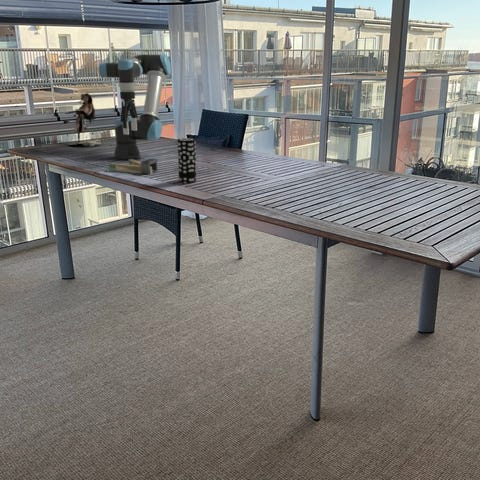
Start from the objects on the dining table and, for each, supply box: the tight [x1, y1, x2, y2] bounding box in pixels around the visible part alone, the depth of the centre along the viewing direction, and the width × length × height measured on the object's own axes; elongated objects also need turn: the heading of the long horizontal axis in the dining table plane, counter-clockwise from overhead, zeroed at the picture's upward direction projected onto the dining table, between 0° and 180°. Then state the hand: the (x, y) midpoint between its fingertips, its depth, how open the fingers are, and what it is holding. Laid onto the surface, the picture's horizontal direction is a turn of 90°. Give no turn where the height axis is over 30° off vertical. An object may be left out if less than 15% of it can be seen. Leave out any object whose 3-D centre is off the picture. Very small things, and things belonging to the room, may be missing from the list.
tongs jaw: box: [128, 159, 142, 166], centre depth 275 cm, size 4×20×4 cm, turn 36°
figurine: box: [62, 92, 104, 148], centre depth 348 cm, size 25×24×35 cm
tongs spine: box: [108, 162, 153, 175], centre depth 268 cm, size 5×24×4 cm, turn 71°
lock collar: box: [140, 158, 158, 175], centre depth 266 cm, size 10×4×6 cm, turn 161°
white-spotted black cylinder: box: [177, 137, 197, 184], centre depth 244 cm, size 8×8×20 cm
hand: (130, 132), depth 275 cm, fingers open, 13 cm apart
